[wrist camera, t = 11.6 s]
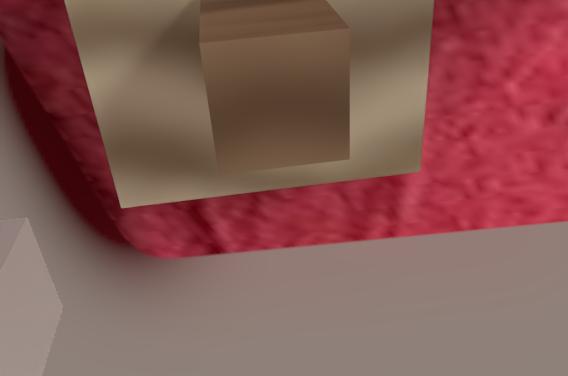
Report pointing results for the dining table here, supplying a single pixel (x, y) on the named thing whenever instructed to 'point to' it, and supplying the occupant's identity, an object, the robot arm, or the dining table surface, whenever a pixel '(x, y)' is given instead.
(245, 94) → the lid
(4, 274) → the robot arm
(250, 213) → the dining table surface
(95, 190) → the dining table surface
